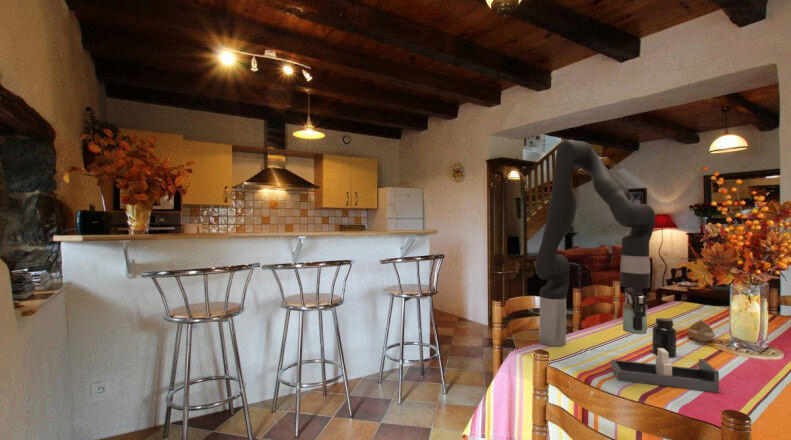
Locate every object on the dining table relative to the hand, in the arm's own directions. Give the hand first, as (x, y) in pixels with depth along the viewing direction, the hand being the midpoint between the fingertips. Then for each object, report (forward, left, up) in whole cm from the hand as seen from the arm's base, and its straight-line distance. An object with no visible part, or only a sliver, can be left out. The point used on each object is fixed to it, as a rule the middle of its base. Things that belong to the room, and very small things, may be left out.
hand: (634, 326), depth 115 cm
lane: (+7, 0, -15) cm, 16 cm away
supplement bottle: (+15, +25, -15) cm, 33 cm away
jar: (0, 0, -1) cm, 1 cm away
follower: (+7, 0, -15) cm, 16 cm away
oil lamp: (+34, +49, -15) cm, 61 cm away
